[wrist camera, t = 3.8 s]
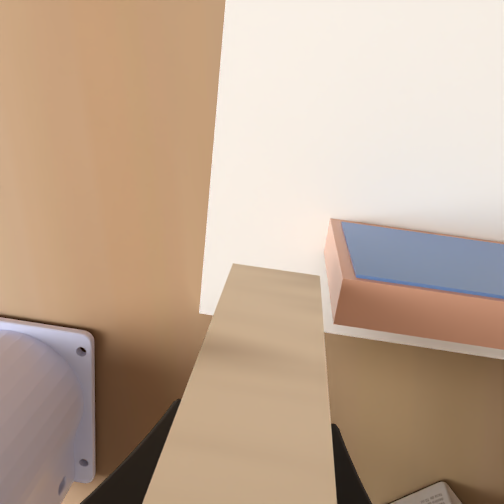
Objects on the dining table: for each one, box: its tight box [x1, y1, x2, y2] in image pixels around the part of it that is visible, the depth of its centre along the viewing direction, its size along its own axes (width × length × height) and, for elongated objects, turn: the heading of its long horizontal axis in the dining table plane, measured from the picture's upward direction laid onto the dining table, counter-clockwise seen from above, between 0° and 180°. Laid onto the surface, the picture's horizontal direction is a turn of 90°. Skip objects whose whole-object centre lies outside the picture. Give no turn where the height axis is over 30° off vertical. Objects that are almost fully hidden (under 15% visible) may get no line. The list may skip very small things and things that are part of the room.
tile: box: [324, 218, 504, 350], centre depth 16 cm, size 2×8×6 cm, turn 83°
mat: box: [199, 0, 504, 359], centre depth 18 cm, size 14×16×1 cm
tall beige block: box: [142, 263, 337, 504], centre depth 11 cm, size 6×2×8 cm, turn 174°
